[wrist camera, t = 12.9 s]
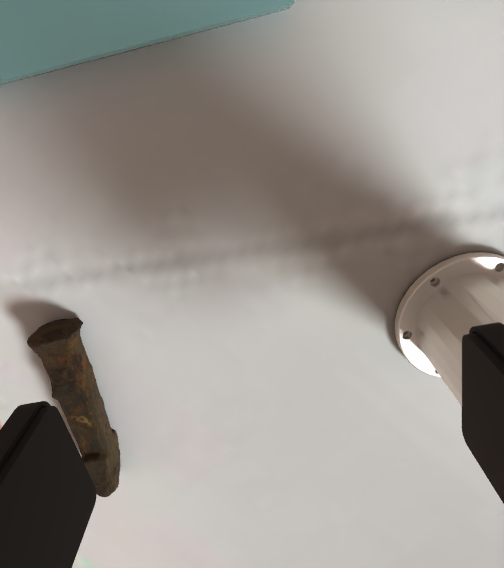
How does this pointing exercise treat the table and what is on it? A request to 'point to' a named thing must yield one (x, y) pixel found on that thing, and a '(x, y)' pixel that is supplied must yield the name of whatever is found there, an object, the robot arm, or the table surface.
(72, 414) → the hand tool
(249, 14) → the square hole plate
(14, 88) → the table surface
